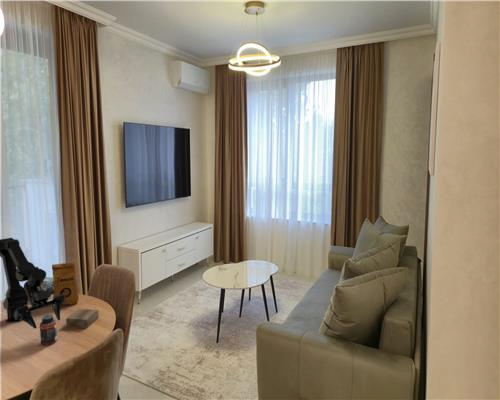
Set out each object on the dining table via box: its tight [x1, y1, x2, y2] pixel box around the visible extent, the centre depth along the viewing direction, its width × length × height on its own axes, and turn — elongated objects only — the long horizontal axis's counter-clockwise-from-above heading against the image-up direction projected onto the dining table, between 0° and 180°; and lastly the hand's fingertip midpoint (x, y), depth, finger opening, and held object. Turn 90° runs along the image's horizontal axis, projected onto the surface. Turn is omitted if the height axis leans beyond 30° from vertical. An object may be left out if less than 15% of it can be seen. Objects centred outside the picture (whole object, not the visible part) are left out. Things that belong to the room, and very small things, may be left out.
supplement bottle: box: [39, 314, 58, 346], centre depth 144 cm, size 6×6×11 cm
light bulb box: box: [40, 276, 54, 300], centre depth 190 cm, size 11×7×11 cm, turn 84°
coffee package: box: [51, 261, 80, 306], centre depth 182 cm, size 10×12×22 cm
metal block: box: [65, 308, 100, 329], centre depth 162 cm, size 10×10×4 cm
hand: (47, 324), depth 144 cm, fingers open, 9 cm apart
